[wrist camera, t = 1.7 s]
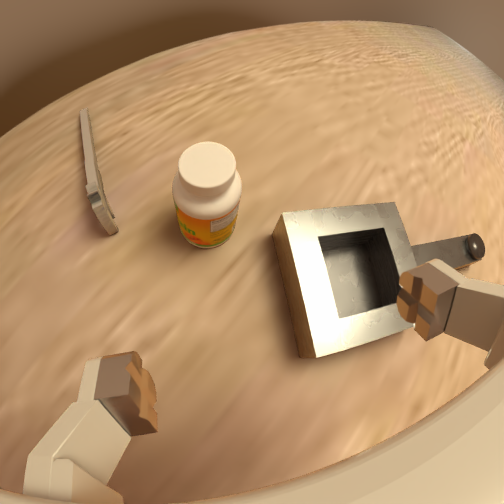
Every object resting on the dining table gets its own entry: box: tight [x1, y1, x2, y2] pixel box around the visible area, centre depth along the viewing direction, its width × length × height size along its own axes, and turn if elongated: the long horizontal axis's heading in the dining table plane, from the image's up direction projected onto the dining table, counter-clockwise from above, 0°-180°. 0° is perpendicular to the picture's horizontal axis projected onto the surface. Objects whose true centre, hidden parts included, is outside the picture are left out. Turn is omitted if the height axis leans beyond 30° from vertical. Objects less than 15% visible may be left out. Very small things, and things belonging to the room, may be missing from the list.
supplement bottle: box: [172, 142, 242, 248], centre depth 24 cm, size 5×5×10 cm
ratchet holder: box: [272, 202, 485, 358], centre depth 27 cm, size 27×12×4 cm, turn 101°
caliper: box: [80, 108, 119, 235], centre depth 27 cm, size 20×1×6 cm, turn 27°
